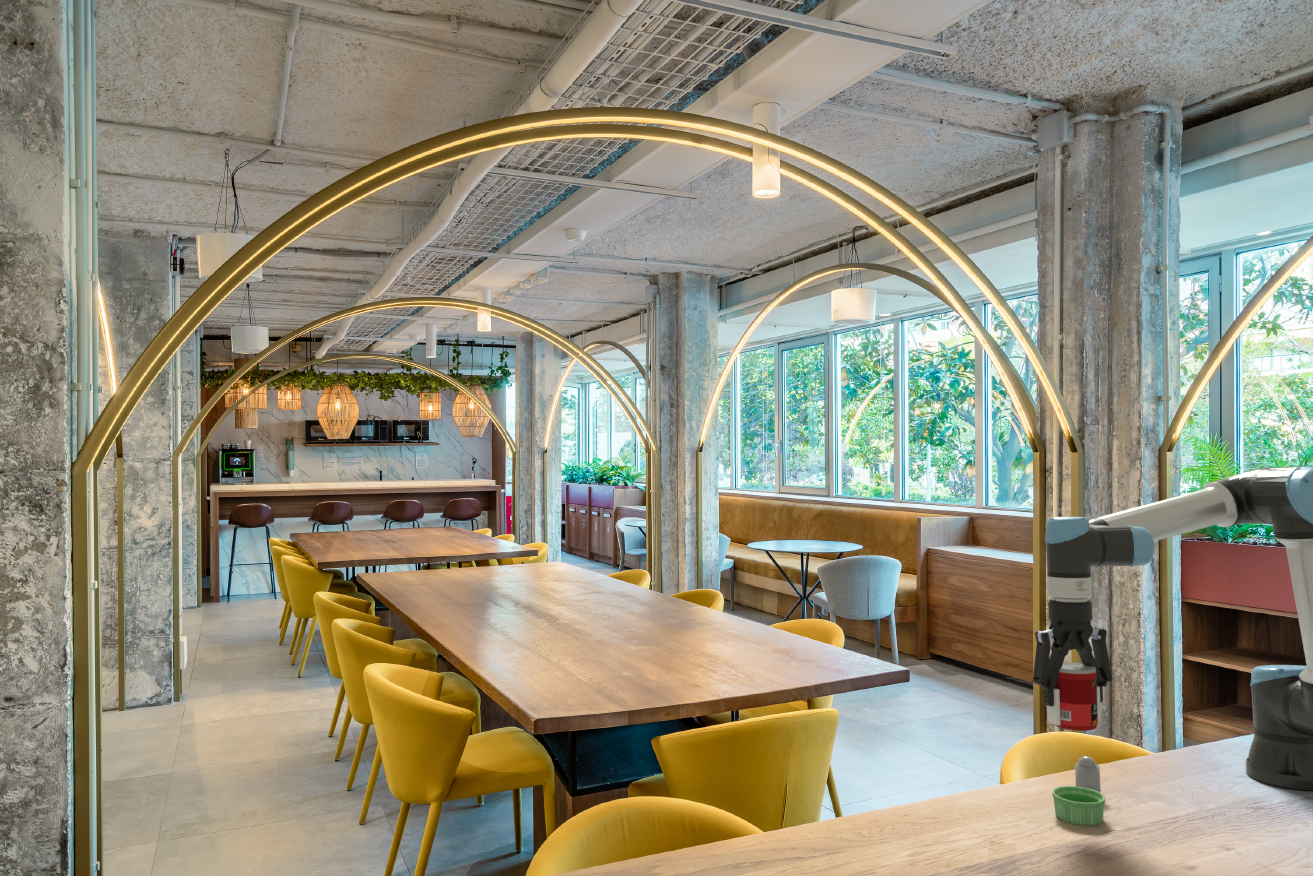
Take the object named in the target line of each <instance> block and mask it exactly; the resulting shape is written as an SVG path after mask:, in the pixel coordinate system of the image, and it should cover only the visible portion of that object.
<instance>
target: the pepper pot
mask: <svg viewBox="0 0 1313 876" xmlns="http://www.w3.org/2000/svg"><path fill="white" fill-rule="evenodd" d="M1100 770H1101V769H1100V765H1098V764H1097V763H1096V761H1095V760H1094V758H1093V757H1091V756H1088V755H1084V756H1081V757H1080V758H1079V759H1078V761H1077V762H1075V763H1074V772H1075V773H1074V774H1075V775H1074V776H1075V786H1076V787H1083V788H1088V789H1092V790H1095V791H1098V792H1100V793H1101V791H1102V790H1101V771H1100ZM1101 794H1102V793H1101Z"/></svg>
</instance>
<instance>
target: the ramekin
mask: <svg viewBox="0 0 1313 876" xmlns="http://www.w3.org/2000/svg"><path fill="white" fill-rule="evenodd" d="M1051 795H1052V797H1053V804H1054V812H1055V813H1054V814H1055V815H1056V817H1057V818H1059V819H1060V820H1061V819H1062V820H1061V821H1063V822H1065V821H1066V823H1068V822H1069V823H1068V824H1072V823H1073V824H1072V825H1076V824H1078V825H1077V826H1084V825H1087V827H1088V825H1089V826H1090V827H1091V825H1092V826H1097V825H1100V824H1101V823H1102V822H1104V821H1103V820H1104V811H1105V802H1106V797H1105V794H1102V793H1100V792H1098V791H1095V790H1092V789H1088V788H1083V787H1076V785H1075V786H1073V785H1072V786H1071V785H1063V786H1057V787H1055V788H1052V790H1051Z"/></svg>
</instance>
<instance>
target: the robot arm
mask: <svg viewBox="0 0 1313 876" xmlns="http://www.w3.org/2000/svg"><path fill="white" fill-rule="evenodd" d="M1247 524H1248V525H1249V524H1250V525H1251V524H1254V525H1255V524H1256V525H1258V524H1259V525H1269V526H1270V525H1271V526H1272V530H1273V536H1274V539H1275V540H1276V541H1278V542H1279V543H1280V544H1282V545H1284V547H1285V551H1286V557H1287V562H1288V566H1289V573H1290V579H1291V584H1292V590H1293V596H1294V601H1295V607H1296V612H1297V618H1298V619H1297V620H1298V624H1299V628H1300V629H1299V630H1300V635H1301V641H1302V646H1303V652H1304V653H1303V654H1304V657H1305V663H1306V665H1296V664H1294V665H1293V664H1292V665H1291V664H1269V665H1259V666H1255V667H1254V668H1253V669H1252V670H1251V673H1250V674H1251V679H1250V685H1249V686H1250V693H1251V706H1252V707H1251V708H1252V719H1253V720H1252V721H1253V724H1252V725H1253V739H1252V742H1251V745H1250V748H1249V751H1248V752H1249V753H1248V757H1246V759H1245V773H1246V774H1247V776H1249V777H1250V778H1252V779H1253V780H1256V781H1258V780H1259V782H1261V781H1262V782H1261V783H1265V784H1267V783H1268V785H1271V786H1275V787H1281V788H1285V787H1286V788H1285V789H1291V788H1292V790H1300V791H1313V465H1301V466H1283V467H1282V466H1279V467H1274V466H1273V467H1270V466H1269V467H1267V466H1266V467H1261V468H1259V467H1258V468H1255V469H1251V470H1248V471H1244V472H1241V473H1238V474H1235V475H1231V476H1228V477H1224V478H1221V479H1218V480H1216V481H1210V482H1208V483H1206V484H1205V485H1204V486H1202V489H1200V490H1197V491H1192V492H1189V493H1185V494H1182V495H1179V496H1174V497H1171V498H1170V497H1169V498H1166V499H1163V500H1160V501H1155V502H1152V503H1148V504H1144V505H1141V506H1137V507H1132V508H1129V509H1126V510H1122V511H1121V510H1120V511H1118V512H1116V513H1115V512H1114V513H1111V514H1107V515H1103V516H1100V517H1097V518H1092V519H1088V518H1087V517H1085V516H1053V517H1049V518H1048V519H1047V520H1046V524H1045V527H1046V528H1045V540H1044V542H1045V549H1046V550H1045V553H1046V573H1047V575H1046V576H1047V578H1046V579H1047V580H1046V581H1047V582H1046V584H1047V587H1046V588H1047V596H1048V597H1049V598H1050V599H1048V601H1047V607H1048V608H1047V610H1048V619H1049V621H1050V624H1049V626H1048V627H1049V628H1048V629H1047V630H1043V631H1042V630H1036V631H1035V632H1034V634H1035V635H1034V636H1035V640H1036V647H1035V656H1034V666H1033V673H1032V674H1033V675H1032V682H1033V684H1035V685H1038V686H1041V687H1042V691H1043V692H1042V693H1043V704H1044V705H1045V706H1046V712H1047V713H1046V715H1047V717H1046V718H1047V723H1050V724H1052V725H1054V724H1055V725H1061V724H1060V696H1059V689H1056V688H1055V686H1056V683H1057V680H1058V677H1059V671H1060V668H1062V665H1063V662H1065V658H1066V656H1068V654H1069V652H1070V651H1072V650H1075V651H1076V652H1077V653H1078V655H1079V659H1080V661H1081V663H1082V664H1084V665H1086V666H1090V667H1093V666H1094V667H1095V668H1096V677H1097V707H1098V723H1101V722H1102V718H1101V717H1102V714H1101V713H1102V712H1101V709H1102V708H1101V703H1103V702H1104V691H1103V688H1106V687H1107V685H1108V683H1109V682H1110V683H1111V682H1112V681H1113V674H1112V668H1111V663H1110V659H1109V653H1108V646H1107V634H1108V631H1107V630H1106V629H1105V628H1100V627H1093V625H1092V624H1091V621H1092V620H1093V603H1092V602H1091V600H1089V599H1091V598H1092V596H1093V595H1092V568H1098V567H1130V568H1133V567H1136V566H1145V565H1147V564H1149V563H1150V562H1151V561H1152V559H1153V558H1154V555H1155V542H1156V541H1160V540H1161V541H1162V540H1164V539H1168V538H1171V537H1175V536H1179V535H1183V534H1187V533H1190V532H1191V533H1192V532H1194V531H1197V530H1202V529H1205V528H1208V527H1212V526H1218V527H1221V528H1228V527H1233V526H1237V525H1247ZM1090 638H1091V642H1090ZM1051 642H1052V644H1051ZM1055 725H1054V726H1055Z"/></svg>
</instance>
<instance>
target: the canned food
mask: <svg viewBox="0 0 1313 876" xmlns="http://www.w3.org/2000/svg"><path fill="white" fill-rule="evenodd" d="M1055 688H1056V689H1059V696H1060V724H1061V725H1055V724H1053V726H1055V727H1057V728H1061V729H1064V730H1070V731H1077V732H1078V731H1081V732H1082V731H1083V732H1085V731H1086V732H1087V731H1089V732H1090V731H1093V730H1095V729H1097V728H1098V725H1099V722H1098V707H1097V677H1096V668H1095V667H1094V666H1093V667H1090V666H1086V665H1084V664H1083V663H1082V662H1081V663H1080V662H1070V661H1064V662H1063V665H1062V668H1060V671H1059V677H1058V680H1057V683H1056V686H1055Z"/></svg>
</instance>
